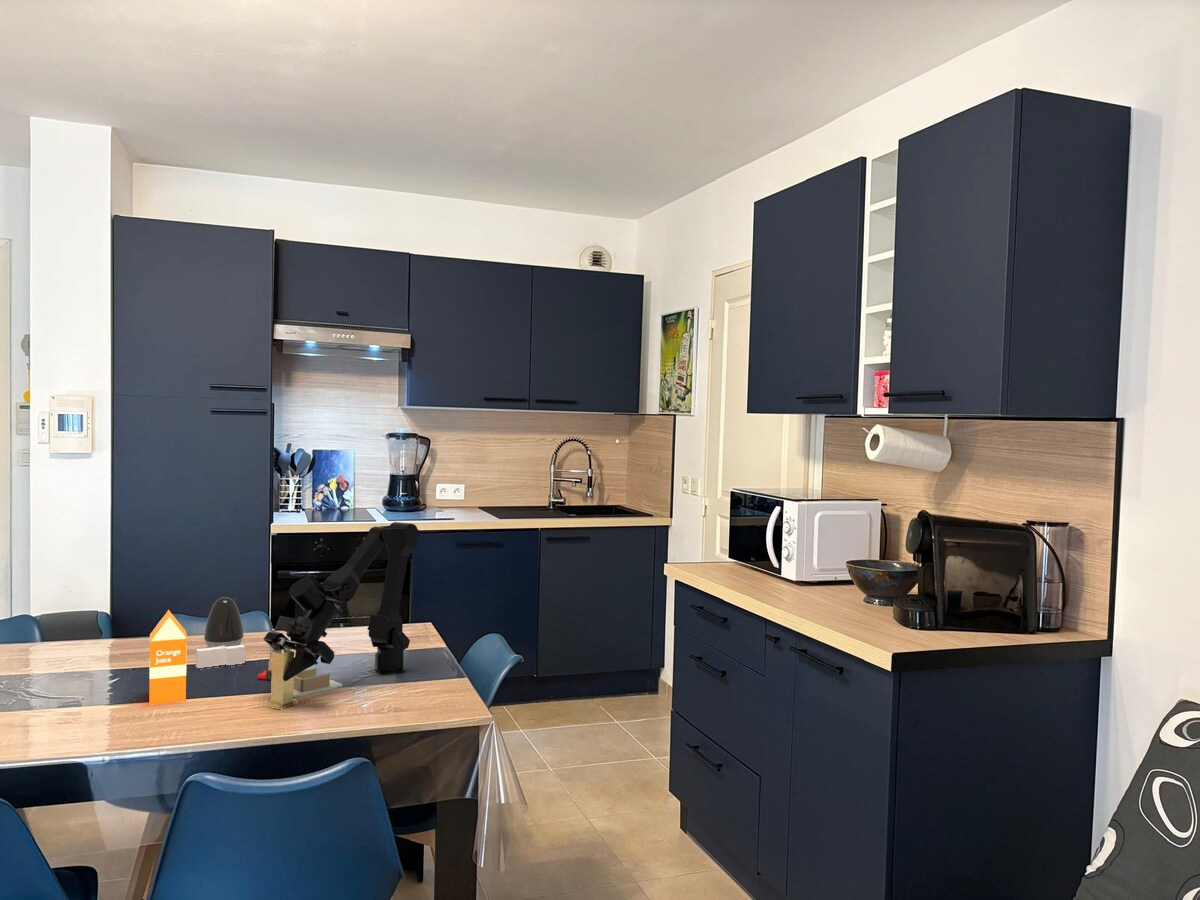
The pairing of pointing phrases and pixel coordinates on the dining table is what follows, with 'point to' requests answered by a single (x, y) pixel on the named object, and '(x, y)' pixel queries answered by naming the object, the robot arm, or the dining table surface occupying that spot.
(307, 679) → the pale green slotted base
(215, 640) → the black rounded cone
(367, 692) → the dining table surface
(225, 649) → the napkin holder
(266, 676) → the tow hook
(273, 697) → the gold square pillar
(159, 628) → the orange juice
